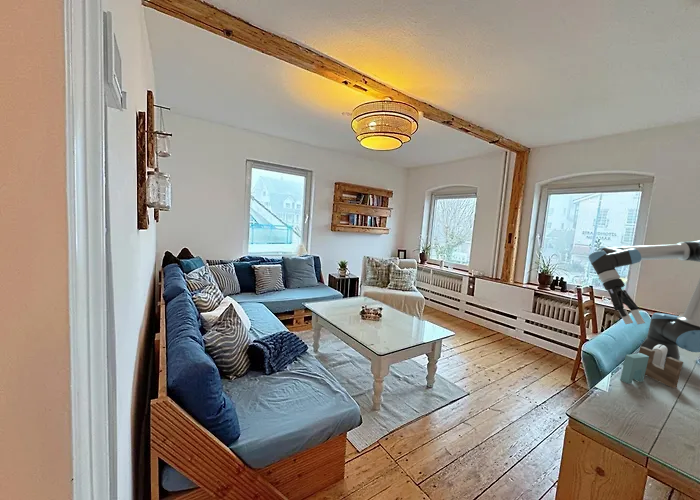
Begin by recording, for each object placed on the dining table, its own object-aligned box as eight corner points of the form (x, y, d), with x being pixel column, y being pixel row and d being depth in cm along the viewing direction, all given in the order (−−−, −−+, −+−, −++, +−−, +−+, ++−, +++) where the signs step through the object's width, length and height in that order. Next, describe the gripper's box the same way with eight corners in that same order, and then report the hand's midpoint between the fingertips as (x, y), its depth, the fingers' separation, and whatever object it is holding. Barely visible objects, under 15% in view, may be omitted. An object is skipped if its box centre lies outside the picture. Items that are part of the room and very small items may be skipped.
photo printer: (652, 364, 151) (657, 341, 149) (664, 368, 147) (670, 345, 145) (646, 369, 145) (652, 345, 143) (658, 373, 141) (664, 349, 139)
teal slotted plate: (635, 377, 136) (640, 353, 135) (643, 381, 134) (649, 356, 132) (620, 379, 133) (625, 354, 132) (628, 383, 131) (633, 358, 129)
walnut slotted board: (638, 370, 144) (643, 346, 142) (676, 387, 130) (683, 361, 129) (634, 370, 143) (640, 347, 141) (673, 388, 130) (679, 362, 128)
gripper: (613, 285, 156) (636, 325, 146) (590, 281, 144) (614, 325, 134) (630, 279, 150) (655, 321, 140) (608, 275, 138) (634, 321, 128)
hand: (635, 323), depth 137 cm, fingers open, 13 cm apart
